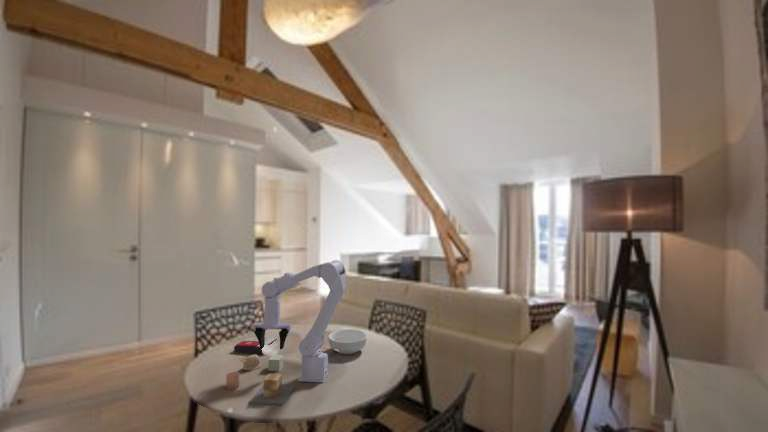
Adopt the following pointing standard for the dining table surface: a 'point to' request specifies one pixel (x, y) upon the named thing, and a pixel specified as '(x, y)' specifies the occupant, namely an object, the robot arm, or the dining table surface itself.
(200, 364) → the dining table surface
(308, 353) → the robot arm
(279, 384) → the oak block
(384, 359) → the dining table surface
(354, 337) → the cereal bowl
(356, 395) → the dining table surface
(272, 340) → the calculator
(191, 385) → the dining table surface
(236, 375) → the terracotta cylinder
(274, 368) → the sage block
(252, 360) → the cream ribbed piece
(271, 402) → the slate mat
